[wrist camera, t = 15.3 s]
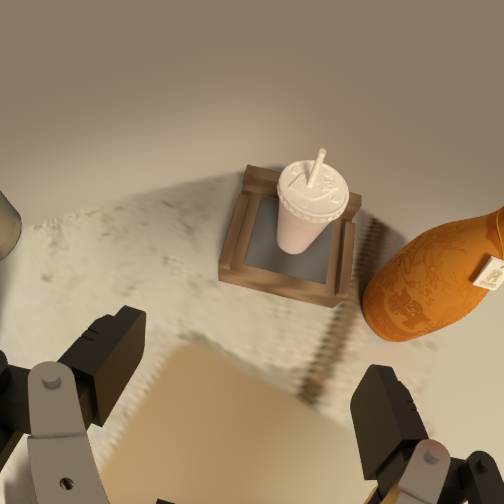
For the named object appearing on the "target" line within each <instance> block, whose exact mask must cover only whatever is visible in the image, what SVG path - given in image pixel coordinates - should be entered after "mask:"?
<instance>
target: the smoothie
mask: <svg viewBox="0 0 504 504" xmlns="http://www.w3.org/2000/svg"><path fill="white" fill-rule="evenodd" d="M325 154H326V150H325V149H320V150H319V152H318V155H317V158H316V160H315V161H314V160H300V161H296V162H293V163H291V164H289V165H288V166H287V167H285V169H284V170H283V171H282V173H281V175H280V178H279V181H278V185H277V190H278V195H279V198H280V199H279V213H278V226H277V237H276V238H277V243H278V245H279V247H280V248H281V249H282V250H283V251H285V252H287V253H289V254H299V253H302V252H303V251H305V250H306V249H307V247H308V246H309V245H310V244H311V243H312V242H313V241H314V240H315V239H316V237H317V236H318V235H319V234H320V233H321V232H322V231H323V229H324V228H325V227H326V226H327V225H328V224H329V223H330V222H331V221H332V220H334V219H336V218H338V217H339V216H340V215H341V214H342V213H343V212H344V210H345V207H346V205H347V203H348V200H349V191H348V187H347V184H346V182H345V180H344V179H343V177H342V176H341V175H340V174H339V173H338V172H337V171H336V170H335V169H333V168H332V167H330V166H328V165H326V164H324V163H322V162H323V159H324V157H325Z"/></svg>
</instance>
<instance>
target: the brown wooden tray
mask: <svg viewBox="0 0 504 504" xmlns="http://www.w3.org/2000/svg"><path fill="white" fill-rule="evenodd" d="M280 175H281V173H279V172H275V171H271V170H267V169H263V168H259V167H255V166H251V165H247V168H246V171H245V174H244V181H243V189H242V193H241V194H240V195H239V198H238V201H237V205H236V208H235V211H234V214H233V217H232V220H231V224H230V227H229V230H228V233H227V236H226V240H225V243H224V246H223V249H222V253H221V256H220V259H219V281H223V282H227V283H230V284H234V285H238V286H242V287H246V288H250V289H254V290H258V291H262V292H266V293H270V294H274V295H278V296H283V297H287V298H291V299H295V300H299V301H304V302H308V303H312V304H316V305H321V306H325V307H330V308H334V307H335V306H336V305H337V304H339V303H340V302H341V301H342V300H343V299H345V298H346V297H347V296H348V295H349V292H350V282H351V272H352V261H353V249H354V234H355V224H354V223H352V218H353V217H354V215H355V214H356V212H357V211H358V210H359V208H360V207H361V195H358V194H354V193H351V192H349V200H348V203H347V205H346V207H345V210H344V212H343V213H342V214H341V215H340V216H339V217H338V218H336V219H334V220H332V221H331V222H330V223H329V224H328V225H327V226H326V227H325V228H324V229H323V231H322V232H321V233H320V234H319V235H318V236H317V237H316V239H315V240H314V241H313V242H312V243H311V244H310V245H309V246H308V247H307V249H306V250H305V251H303V252H302V253H299V254H289V253H287V252H285V251H283V250H282V249H281V248H280V247H279V245H278V243H277V238H276V237H277V226H278V213H279V199H280V198H279V195H278V190H277V185H278V181H279V178H280Z"/></svg>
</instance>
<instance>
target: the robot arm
mask: <svg viewBox="0 0 504 504" xmlns="http://www.w3.org/2000/svg"><path fill="white" fill-rule="evenodd" d="M21 225H22V223H21V217H20V215H19V213H18V212H17V211H16V210H15V208H14V207H13V206H12V205H11V204H10V202H9V201H8V200H7V198H6V197H5V196H4V195H3V194H2V192H1V191H0V259H2V258H4V257H5V256H6V255H7V254H8V253H9V252H10V251H11V250H12V249H13V247H14V246H15V244H16V242H17V240H18V238H19V235H20V232H21ZM145 327H146V313H145V311H142V310H138V309H135V308H132V307H129V306H126V305H125V306H123V307H122V308H121V309H120V310H119V312H118V313H117V314H116V315H115V316H111V315H109V314H107V315H105V316H103V317H101V318H99V319H96V320H95V321H94V322H93V323H92V324H91V325H90V326H89V327H88V330H86V331H85V332H84V333H83V334H82V335H81V337H79V338H78V339H77V340H76V341H75V342H74V343H73V344H72V346H71V347H70V348H69V349H68V350H67V351H66V352H65V353H64V354H63V355H62V356H61V358H60V359H59V360H58V361H57V362H54V361H48V362H42V363H40V364H38V365H36V366H34V367H33V368H32V369H31V370H30V369H25V368H21V367H17V366H13V365H9V364H8V361H7V358H6V356H5V354H4V353H3V352H2V351H1V350H0V472H1V470H2V469H3V467H4V465H5V464H6V462H7V460H8V458H9V457H10V455H11V453H12V452H13V450H14V448H15V447H16V445H17V444H18V442H19V440H20V439H21V437H22V436H23V434H24V433H26V434H29V435H31V436H28V438H27V446H28V454H29V461H30V467H31V473H32V478H33V484H34V488H35V493H36V497H37V502H38V504H110V503H109V500H108V498H107V495H106V492H105V490H104V488H103V484H102V481H101V479H100V476H99V473H98V470H97V467H96V463H95V460H94V457H93V454H92V450H91V447H90V443H89V440H88V436H87V432H86V431H87V430H88V428H89V426H90V425H91V423H93V424H95V425H97V426H100V427H103V425H104V423H105V421H106V420H107V418H108V416H109V414H110V413H111V411H112V409H113V407H114V406H115V404H116V402H117V400H118V399H119V397H120V395H121V394H122V392H123V390H124V388H125V387H126V385H127V383H128V382H129V380H130V378H131V377H132V375H133V373H134V372H135V370H136V368H137V367H138V365H139V363H140V361H141V359H142V356H143V352H144V345H145ZM350 410H351V415H352V419H353V424H354V429H355V434H356V438H357V443H358V448H359V453H360V459H361V463H362V469H363V475H364V480H377V482H378V485H377V486H376V487H375V488H374V489H373V490H372V492H371V494H370V495H369V497H368V498H367V500H366V501H365V503H364V504H463V503H465V502H466V501H467V500H468V504H504V482H503V480H502V477H501V475H500V472H499V470H498V467H497V465H496V463H495V461H494V459H493V458H492V457H491V456H490V455H489V454H487V453H486V452H483V451H475V452H473V453H472V454H471V455H470V456H469V457H468V458H467V459H466V460H463V459H458V458H453V457H450V454H449V452H448V450H447V449H446V448H445V447H444V446H443V445H442V444H441V443H439V442H437V441H435V440H431V439H429V437H428V435H427V432H426V430H425V427H424V425H423V422H422V420H421V418H420V415H419V413H418V411H416V410H417V408H416V406H415V404H414V403H413V399H412V397H411V394H410V392H409V390H408V389H407V388H406V387H405V386H404V385H403V384H402V383H401V381H398V380H397V377H396V375H395V373H394V370H393V368H392V367H389V366H381V365H374V364H372V365H370V366H369V368H368V369H367V371H366V373H365V375H364V376H363V378H362V380H361V382H360V383H359V385H358V387H357V389H356V390H355V392H354V394H353V396H352V399H351V404H350ZM156 504H174V503H171V502H167V501H164V500H160V499H157V502H156Z"/></svg>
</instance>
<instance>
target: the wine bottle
mask: <svg viewBox="0 0 504 504" xmlns="http://www.w3.org/2000/svg"><path fill="white" fill-rule="evenodd" d="M503 281H504V206H503V207H502V208H501V209H499V210H497V211H495V212H493V213H490V214H488V215H485V216H480V217H476V218H471V219H465V220H459V221H454V222H450V223H446V224H443V225H440V226H437V227H435V228H432V229H430V230H428V231H426V232H424V233H422V234H421V235H419V236H417V237H416V238H415V239H414V240H412V241H411V242H410V243H409V244H407V245H406V246H405V247H404V248H403V249H402V250H401V251H400V252H399V253H398V254H396V255H395V256H394V257H393V258H392V259H391V260H390V261H389V262H388V263H387V264H386V265H385V266H384V267H383V268H382V269H381V270H380V271H379V272H378V273H377V274H376V275H375V276H374V277H373V278H372V279H371V280H370V282H369V283H368V285H367V286H366V289H365V291H364V295H363V312H364V316H365V319H366V321H367V323H368V325H369V326H370V328H371V329H372V330H373V331H374V332H375V333H376V334H377V335H378V336H379V337H381V338H383V339H385V340H387V341H391V342H403V341H407V340H411V339H414V338H417V337H420V336H423V335H426V334H428V333H431V332H434V331H436V330H439V329H441V328H444V327H446V326H448V325H450V324H452V323H454V322H456V321H458V320H460V319H462V318H463V317H464V316H466V315H467V314H468V313H470V312H471V311H472V310H473V309H474V308H475V307H476V306H477V305H478V304H479V303H480V302H481V300H482V299H483V298H484V297H485V295H486V294H487V292H488V291H489V290H493V291H495V290H496V289H497V288H498V287H499V286H500V285H501V283H502V282H503Z"/></svg>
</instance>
